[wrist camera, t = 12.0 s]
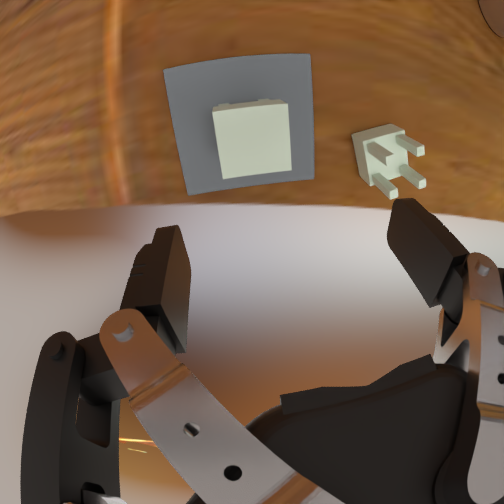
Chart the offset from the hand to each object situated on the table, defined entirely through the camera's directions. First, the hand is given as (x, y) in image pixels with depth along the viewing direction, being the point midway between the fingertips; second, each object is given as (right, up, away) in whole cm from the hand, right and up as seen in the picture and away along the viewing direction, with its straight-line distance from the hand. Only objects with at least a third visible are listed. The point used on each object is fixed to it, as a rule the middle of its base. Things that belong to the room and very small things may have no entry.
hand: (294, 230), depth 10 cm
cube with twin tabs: (-2, +12, +15) cm, 19 cm away
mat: (-2, +12, +16) cm, 20 cm away
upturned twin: (+13, +11, +19) cm, 25 cm away
